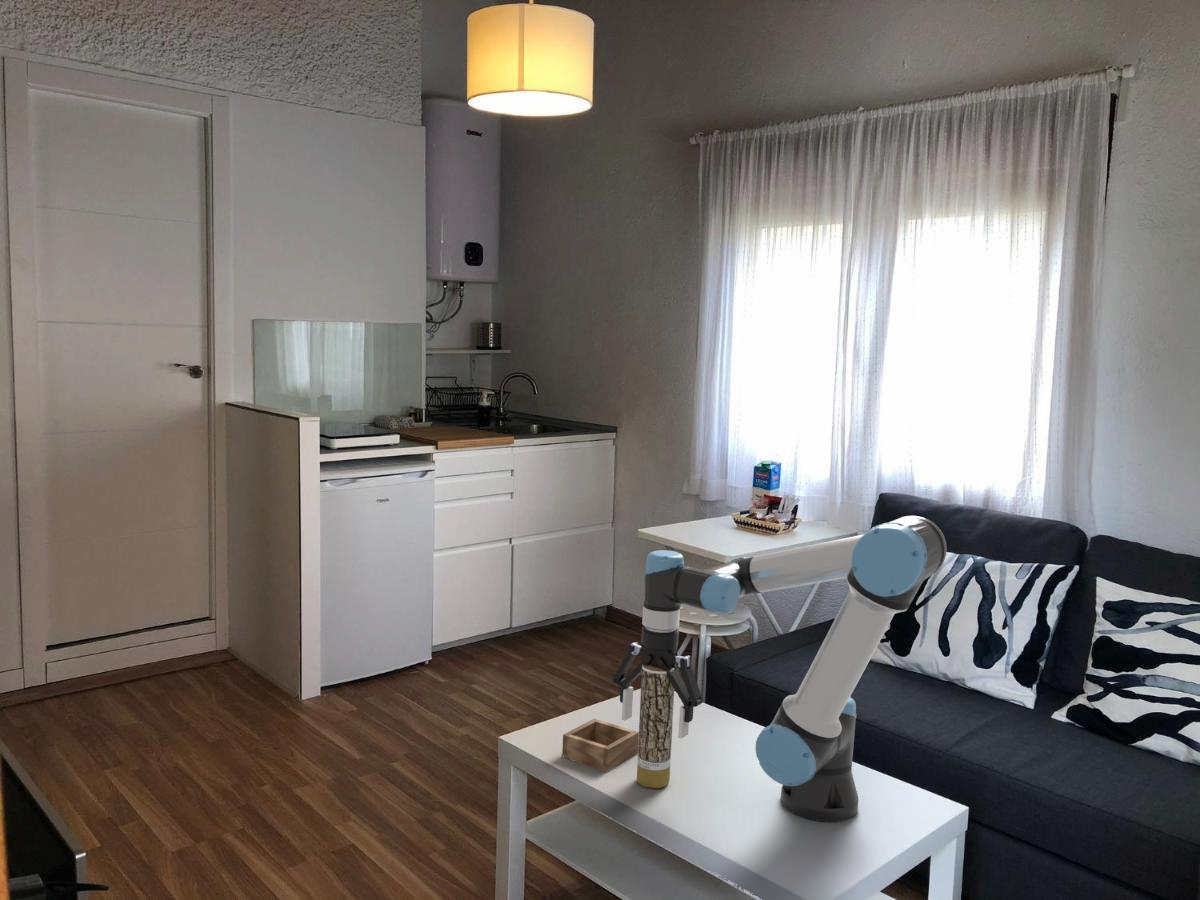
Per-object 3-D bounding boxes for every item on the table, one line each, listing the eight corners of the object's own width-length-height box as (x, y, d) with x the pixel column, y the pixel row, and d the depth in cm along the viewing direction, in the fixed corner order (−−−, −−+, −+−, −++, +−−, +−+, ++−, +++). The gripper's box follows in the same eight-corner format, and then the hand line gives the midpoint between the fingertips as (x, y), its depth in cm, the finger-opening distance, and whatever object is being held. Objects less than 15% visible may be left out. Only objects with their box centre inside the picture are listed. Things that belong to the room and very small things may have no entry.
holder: (637, 753, 222) (638, 732, 221) (607, 772, 212) (608, 749, 212) (593, 739, 229) (594, 718, 228) (562, 756, 219) (563, 734, 218)
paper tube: (667, 791, 204) (673, 672, 201) (634, 787, 206) (639, 669, 203) (671, 777, 211) (677, 662, 208) (639, 773, 212) (644, 658, 209)
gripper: (723, 636, 200) (716, 737, 203) (619, 610, 214) (614, 706, 217) (705, 645, 194) (698, 749, 197) (599, 618, 208) (594, 716, 211)
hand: (654, 727), depth 207 cm, fingers open, 13 cm apart
